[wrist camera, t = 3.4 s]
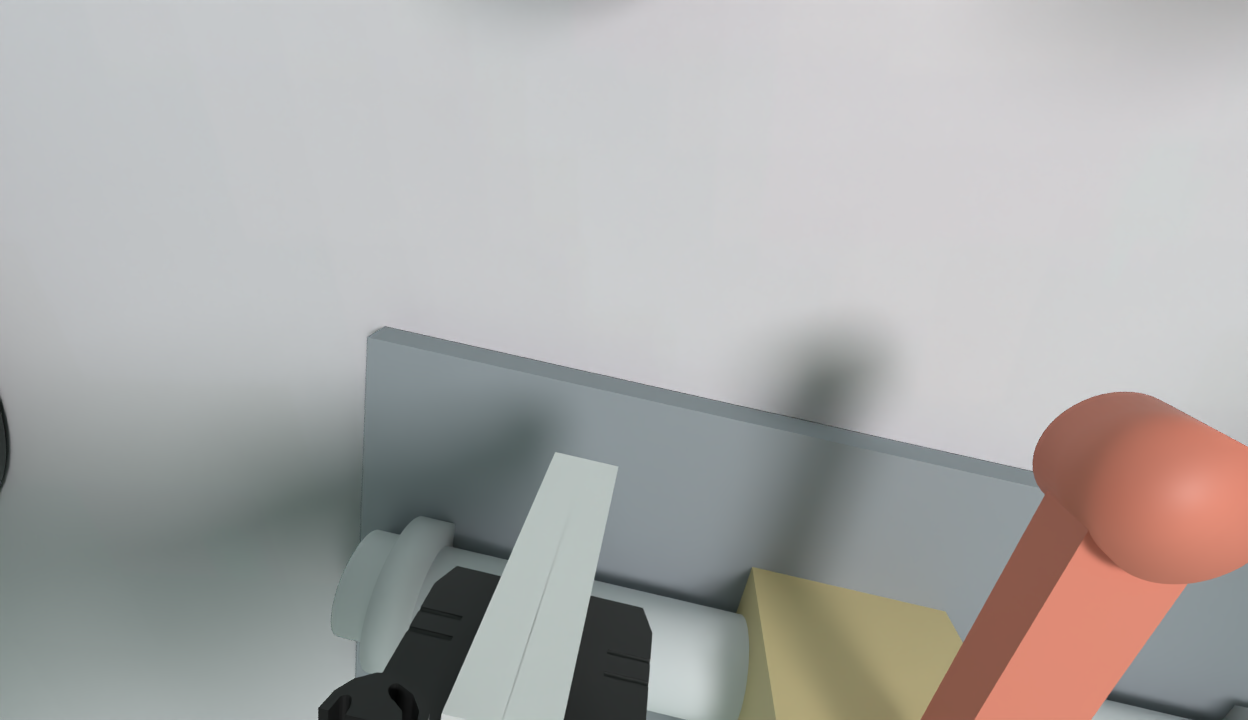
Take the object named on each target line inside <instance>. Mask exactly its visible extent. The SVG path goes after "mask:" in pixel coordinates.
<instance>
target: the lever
mask: <svg viewBox="0 0 1248 720" xmlns="http://www.w3.org/2000/svg"><path fill="white" fill-rule="evenodd" d="M1033 473H1034V478H1035V480H1036V483H1037V485H1038V486H1039V488H1040V490H1041V491H1042V492H1043V493H1044V494H1045V496H1044V497H1043V499H1042V501H1041V503H1040V505H1039V506H1038V508H1037V510H1036V512H1035V514H1034V515H1033V517H1032V519H1031V521H1030V523H1029V525H1028V526H1027V528H1026V530H1025V532H1024V534H1023V535H1022V537H1021V539H1020V541H1019V543H1018V544H1017V546H1016V548H1015V550H1014V552H1013V553H1012V555H1011V557H1010V559H1009V561H1008V562H1007V564H1006V566H1005V568H1004V570H1003V571H1002V573H1001V575H1000V577H999V579H998V580H997V582H996V584H995V586H994V588H993V590H992V591H991V593H990V595H989V597H988V599H987V600H986V602H985V604H984V606H983V608H982V609H981V611H980V613H979V615H978V617H977V618H976V620H975V622H974V624H973V626H972V627H971V629H970V631H969V633H968V635H967V636H966V638H965V640H964V642H963V644H962V646H961V647H960V649H959V651H958V653H957V655H956V656H955V658H954V660H953V662H952V664H951V665H950V667H949V669H948V671H947V673H946V674H945V676H944V678H943V680H942V682H941V683H940V685H939V687H938V689H937V691H936V692H935V694H934V696H933V698H932V700H931V701H930V703H929V705H928V707H927V709H926V711H925V712H924V714H923V716H922V718H921V720H1091V719H1092V718H1093V716H1094V715H1095V714H1096V712H1097V711H1098V709H1099V708H1100V707H1101V705H1102V704H1103V702H1104V701H1105V700H1106V698H1107V697H1108V695H1109V694H1110V693H1111V691H1112V690H1113V688H1114V687H1115V685H1116V684H1117V683H1118V681H1119V680H1120V678H1121V677H1122V676H1123V674H1124V673H1125V671H1126V670H1127V669H1128V667H1129V666H1130V664H1131V663H1132V662H1133V660H1134V659H1135V657H1136V656H1137V654H1138V653H1139V652H1140V650H1141V649H1142V647H1143V646H1144V645H1145V643H1146V642H1147V640H1148V639H1149V638H1150V636H1151V635H1152V633H1153V632H1154V631H1155V629H1156V628H1157V626H1158V625H1159V624H1160V622H1161V621H1162V619H1163V618H1164V616H1165V615H1166V614H1167V612H1168V611H1169V609H1170V608H1171V607H1172V605H1173V604H1174V602H1175V601H1176V600H1177V598H1178V597H1179V595H1180V594H1181V593H1182V591H1183V590H1184V588H1185V587H1186V585H1187V584H1190V583H1197V582H1202V581H1207V580H1210V579H1213V578H1217V577H1220V576H1222V575H1225V574H1227V573H1230V572H1232V571H1234V570H1236V569H1238V568H1240V567H1242V566H1244V565H1245V564H1247V563H1248V447H1247V446H1245V445H1243V444H1241V443H1240V442H1238V441H1236V440H1234V439H1232V438H1230V437H1228V436H1227V435H1225V434H1223V433H1221V432H1219V431H1217V430H1215V429H1213V428H1212V427H1210V426H1208V425H1206V424H1204V423H1202V422H1200V421H1198V420H1197V419H1195V418H1193V417H1191V416H1189V415H1187V414H1185V413H1184V412H1182V411H1180V410H1178V409H1176V408H1174V407H1172V406H1170V405H1169V404H1167V403H1165V402H1163V401H1161V400H1159V399H1157V398H1155V397H1152V396H1149V395H1146V394H1142V393H1135V392H1113V393H1107V394H1102V395H1098V396H1095V397H1092V398H1089V399H1086V400H1084V401H1082V402H1080V403H1078V404H1076V405H1074V406H1072V407H1071V408H1069V409H1067V410H1066V411H1064V412H1063V413H1062V414H1061V415H1059V416H1058V417H1057V418H1056V419H1055V420H1054V421H1053V422H1052V423H1051V424H1050V425H1049V426H1048V427H1047V429H1046V430H1045V431H1044V432H1043V434H1042V436H1041V437H1040V439H1039V441H1038V443H1037V446H1036V448H1035V452H1034V455H1033Z"/></svg>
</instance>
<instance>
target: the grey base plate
mask: <svg viewBox="0 0 1248 720" xmlns="http://www.w3.org/2000/svg"><path fill="white" fill-rule="evenodd" d="M555 452H557V453H562V454H566V455H571V456H575V457H579V458H584V459H588V460H592V461H597V462H601V463H605V464H610V465H614V466H618V471H617V476H616V480H615V485H614V490H613V494H612V499H611V503H610V508H609V513H608V517H607V522H606V526H605V531H604V536H603V540H602V545H601V549H600V554H599V559H598V563H597V568H596V573H595V577H594V582H593V586H592V591H591V596H595V597H599V598H603V599H608V600H612V601H616V602H620V603H625V604H629V605H633V606H637V607H641V608H643V609H644V612H645V614H646V617H647V620H648V622H649V625H650V628H651V630H652V646H651V659H650V673H649V683H648V701H647V714H646V720H921V718H922V716H923V714H924V712H925V711H926V709H927V707H928V705H929V703H930V701H931V700H932V698H933V696H934V694H935V692H936V691H937V689H938V687H939V685H940V683H941V682H942V680H943V678H944V676H945V674H946V673H947V671H948V669H949V667H950V665H951V664H952V662H953V660H954V658H955V656H956V655H957V653H958V651H959V649H960V647H961V646H962V644H963V642H964V640H965V638H966V636H967V635H968V633H969V631H970V629H971V627H972V626H973V624H974V622H975V620H976V618H977V617H978V615H979V613H980V611H981V609H982V608H983V606H984V604H985V602H986V600H987V599H988V597H989V595H990V593H991V591H992V590H993V588H994V586H995V584H996V582H997V580H998V579H999V577H1000V575H1001V573H1002V571H1003V570H1004V568H1005V566H1006V564H1007V562H1008V561H1009V559H1010V557H1011V555H1012V553H1013V552H1014V550H1015V548H1016V546H1017V544H1018V543H1019V541H1020V539H1021V537H1022V535H1023V534H1024V532H1025V530H1026V528H1027V526H1028V525H1029V523H1030V521H1031V519H1032V517H1033V515H1034V514H1035V512H1036V510H1037V508H1038V506H1039V505H1040V503H1041V501H1042V499H1043V497H1044V496H1045V494H1044V493H1043V492H1042V491H1041V490H1040V488H1039V486H1038V485H1037V483H1036V480H1035V478H1034V473H1033V471H1028V470H1024V469H1019V468H1015V467H1010V466H1006V465H1001V464H997V463H992V462H988V461H984V460H979V459H975V458H970V457H966V456H961V455H957V454H952V453H948V452H943V451H939V450H934V449H930V448H925V447H921V446H917V445H912V444H908V443H903V442H899V441H894V440H890V439H885V438H881V437H876V436H872V435H867V434H863V433H858V432H854V431H849V430H845V429H841V428H836V427H832V426H827V425H823V424H818V423H814V422H809V421H805V420H800V419H796V418H791V417H787V416H782V415H778V414H774V413H769V412H765V411H760V410H756V409H751V408H747V407H742V406H738V405H733V404H729V403H724V402H720V401H715V400H711V399H707V398H702V397H698V396H693V395H689V394H684V393H680V392H675V391H671V390H666V389H662V388H657V387H653V386H648V385H644V384H639V383H635V382H631V381H626V380H622V379H617V378H613V377H608V376H604V375H599V374H595V373H590V372H586V371H581V370H577V369H572V368H568V367H564V366H559V365H555V364H550V363H546V362H541V361H537V360H532V359H528V358H523V357H519V356H514V355H510V354H505V353H501V352H497V351H492V350H488V349H483V348H479V347H474V346H470V345H465V344H461V343H456V342H452V341H447V340H443V339H438V338H434V337H430V336H425V335H421V334H416V333H412V332H407V331H403V330H398V329H394V328H389V327H384V328H382V329H380V330H379V331H377V332H375V333H373V334H372V335H370V336H368V337H367V361H366V389H365V417H364V446H363V474H362V503H361V531H360V544H359V545H358V547H357V548H356V550H355V551H354V553H353V554H352V556H351V558H350V560H349V562H348V564H347V566H346V568H345V570H344V572H343V574H342V577H341V579H340V582H339V585H338V588H337V591H336V594H335V598H334V602H333V607H332V613H331V627H332V631H333V633H334V635H336V636H338V637H342V638H346V639H350V640H354V641H357V645H356V673H355V678H357V677H361V676H365V675H369V674H373V673H376V672H379V673H382V672H383V671H384V669H385V667H386V666H387V664H388V662H389V660H390V659H391V657H392V655H393V654H394V652H395V650H396V648H397V647H398V645H399V643H400V641H401V640H402V638H403V636H404V635H405V633H406V631H408V630H409V626H410V624H411V623H412V621H413V619H414V617H415V616H416V614H417V612H418V611H420V608H421V605H422V604H423V602H424V600H425V598H426V597H427V595H428V593H429V592H430V590H431V588H432V586H433V585H434V583H435V582H436V581H438V580H439V579H440V578H442V577H443V576H444V575H445V574H447V573H448V572H449V571H451V570H452V569H453V568H455V567H456V566H460V567H464V568H469V569H473V570H477V571H481V572H486V573H490V574H494V575H498V576H502V574H503V571H504V569H505V567H506V564H507V562H508V560H509V557H510V555H511V553H512V550H513V548H514V546H515V544H516V541H517V539H518V537H519V534H520V532H521V530H522V527H523V525H524V523H525V521H526V518H527V516H528V514H529V511H530V509H531V507H532V504H533V502H534V500H535V498H536V495H537V493H538V491H539V488H540V486H541V484H542V481H543V479H544V477H545V475H546V472H547V470H548V468H549V465H550V463H551V461H552V458H553V456H554V454H555ZM1091 720H1248V563H1247V564H1245V565H1244V566H1242V567H1240V568H1238V569H1236V570H1234V571H1232V572H1230V573H1227V574H1225V575H1222V576H1220V577H1217V578H1213V579H1210V580H1207V581H1202V582H1197V583H1190V584H1187V585H1186V587H1185V588H1184V590H1183V591H1182V593H1181V594H1180V595H1179V597H1178V598H1177V600H1176V601H1175V602H1174V604H1173V605H1172V607H1171V608H1170V609H1169V611H1168V612H1167V614H1166V615H1165V616H1164V618H1163V619H1162V621H1161V622H1160V624H1159V625H1158V626H1157V628H1156V629H1155V631H1154V632H1153V633H1152V635H1151V636H1150V638H1149V639H1148V640H1147V642H1146V643H1145V645H1144V646H1143V647H1142V649H1141V650H1140V652H1139V653H1138V654H1137V656H1136V657H1135V659H1134V660H1133V662H1132V663H1131V664H1130V666H1129V667H1128V669H1127V670H1126V671H1125V673H1124V674H1123V676H1122V677H1121V678H1120V680H1119V681H1118V683H1117V684H1116V685H1115V687H1114V688H1113V690H1112V691H1111V693H1110V694H1109V695H1108V697H1107V698H1106V700H1105V701H1104V702H1103V704H1102V705H1101V707H1100V708H1099V709H1098V711H1097V712H1096V714H1095V715H1094V716H1093V718H1092V719H1091Z"/></svg>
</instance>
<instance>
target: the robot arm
mask: <svg viewBox="0 0 1248 720" xmlns="http://www.w3.org/2000/svg"><path fill="white" fill-rule="evenodd" d="M5 463H6V439H5V430H4V425H3V419H2V416H1V412H0V485H1V482H2V478H3V475H4V470H5ZM617 471H618V466H614V465H610V464H605V463H601V462H597V461H592V460H588V459H584V458H579V457H575V456H571V455H566V454H562V453H557V452H555V454H554V456H553V458H552V461H551V463H550V465H549V468H548V470H547V472H546V475H545V477H544V479H543V481H542V484H541V486H540V488H539V491H538V493H537V495H536V498H535V500H534V502H533V504H532V507H531V509H530V511H529V514H528V516H527V518H526V521H525V523H524V525H523V527H522V530H521V532H520V534H519V537H518V539H517V541H516V544H515V546H514V548H513V550H512V553H511V555H510V557H509V560H508V562H507V564H506V567H505V569H504V571H503V574H502V576H498V575H494V574H490V573H486V572H481V571H477V570H473V569H469V568H464V567H460V566H456V567H455V568H453V569H452V570H451V571H449V572H448V573H447V574H445V575H444V576H443V577H442V578H440V579H439V580H438V581H436V582H435V583H434V585H433V586H432V588H431V590H430V592H429V593H428V595H427V597H426V598H425V600H424V602H423V604H422V605H421V608H420V611H418V612H417V614H416V616H415V617H414V619H413V621H412V623H411V624H410V626H409V630H408V631H406V633H405V635H404V636H403V638H402V640H401V641H400V643H399V645H398V647H397V648H396V650H395V652H394V654H393V655H392V657H391V659H390V660H389V662H388V664H387V666H386V667H385V669H384V671H383V672H382V673H379V672H376V673H373V674H369V675H365V676H361V677H357V678H354V679H353V680H351V681H349V682H348V683H346V684H344V685H343V686H341V687H339V688H338V689H336V690H334V691H333V693H332V694H331V695H330V696H329V697H328V698H327V699H326V700H325V701H324V702H323V704H322V705H321V706H320V707H319V708H318V720H646V714H647V701H648V683H649V673H650V659H651V646H652V630H651V628H650V625H649V622H648V620H647V617H646V614H645V612H644V609H643V608H641V607H637V606H633V605H629V604H625V603H620V602H616V601H612V600H608V599H603V598H599V597H595V596H591V591H592V586H593V582H594V577H595V573H596V568H597V563H598V559H599V554H600V549H601V545H602V540H603V536H604V531H605V526H606V522H607V517H608V513H609V508H610V503H611V499H612V494H613V490H614V485H615V480H616V476H617Z"/></svg>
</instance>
